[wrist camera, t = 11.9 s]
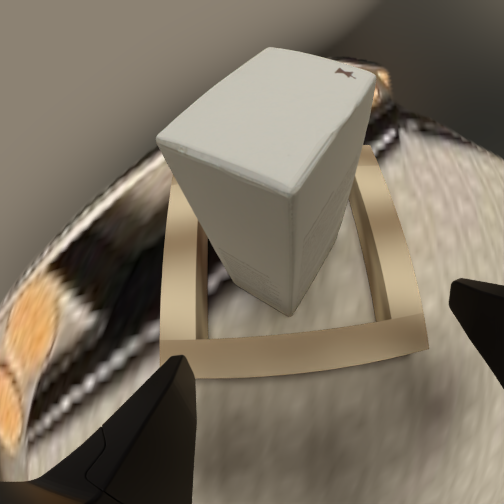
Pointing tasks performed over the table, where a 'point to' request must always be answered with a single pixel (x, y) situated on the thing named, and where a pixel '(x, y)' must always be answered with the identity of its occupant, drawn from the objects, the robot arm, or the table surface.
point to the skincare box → (273, 166)
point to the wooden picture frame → (305, 343)
